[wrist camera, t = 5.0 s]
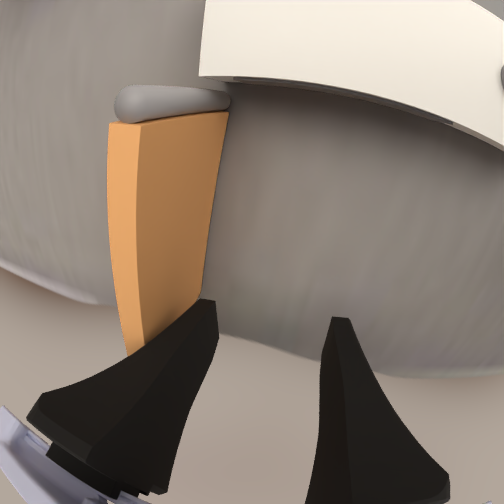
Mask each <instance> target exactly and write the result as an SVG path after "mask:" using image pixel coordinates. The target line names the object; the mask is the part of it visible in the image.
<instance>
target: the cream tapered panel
mask: <svg viewBox="0 0 504 504" xmlns="http://www.w3.org/2000/svg"><path fill="white" fill-rule="evenodd" d="M199 76H200V77H205V78H209V79H214V80H218V81H222V82H241V83H244V84H253V85H268V86H279V87H289V88H297V89H305V90H312V91H318V92H324V93H330V94H336V95H341V96H346V97H351V98H355V99H360V100H364V101H368V102H372V103H376V104H380V105H384V106H388V107H391V108H395V109H398V110H401V111H405V112H408V113H411V114H414V115H417V116H420V117H423V118H426V119H429V120H432V121H437V122H441V123H444V124H446V125H449V126H451V127H454V128H456V129H458V130H461V131H463V132H465V133H468V134H470V135H472V136H474V137H476V138H478V139H480V140H483V141H485V142H487V143H489V144H491V145H493V146H494V147H496V148H498V149H500V150H502V151H504V21H503V20H501V19H500V18H498V17H497V16H495V15H494V14H492V13H491V12H489V11H487V10H486V9H484V8H483V7H481V6H479V5H477V4H476V3H474V2H472V1H471V0H206V6H205V14H204V23H203V32H202V42H201V53H200V66H199Z"/></svg>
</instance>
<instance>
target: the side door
mask: <svg viewBox="0 0 504 504" xmlns="http://www.w3.org/2000/svg"><path fill="white" fill-rule="evenodd" d="M230 102H231V99H230V96H229V95H228V94H227V93H226V92H224V91H217V90H209V89H200V88H190V87H177V86H159V85H128V86H126V87H124V88H123V89H121V90H120V92H119V93H118V94H117V96H116V99H115V103H114V110H115V114H116V116H117V118H118V119H119V120H120V121H117V122H112V123H109V137H108V160H107V202H108V225H109V239H110V251H111V261H112V270H113V278H114V285H115V292H116V299H117V305H118V311H119V316H120V321H121V327H122V332H123V337H124V341H125V346H126V350H127V355H128V356H130V355H131V354H133V353H134V352H136V351H137V350H139V349H140V348H141V347H143V346H144V345H145V344H147V343H148V342H149V341H151V340H152V339H153V338H155V337H156V336H157V335H158V334H160V333H161V332H162V331H163V330H164V329H166V328H167V327H168V326H169V325H170V324H172V323H173V322H174V321H175V320H176V319H177V318H178V317H180V316H181V315H182V314H183V313H184V312H185V311H186V310H187V309H189V308H190V307H191V306H192V305H193V304H194V303H195V302H196V300H197V298H198V296H199V295H200V293H201V286H202V277H203V269H204V262H205V254H206V247H207V239H208V232H209V225H210V219H211V212H212V206H213V199H214V193H215V187H216V181H217V175H218V169H219V163H220V158H221V152H222V147H223V141H224V136H225V131H226V125H227V120H228V115H229V112H225V111H222V110H225V109H227V108H228V107H229V105H230Z"/></svg>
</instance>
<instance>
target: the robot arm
mask: <svg viewBox="0 0 504 504" xmlns="http://www.w3.org/2000/svg"><path fill="white" fill-rule="evenodd" d="M218 340H219V332H218V322H217V313H216V303H215V301H212V300H206V299H201V298H200V299H199V300H197V301H196V302H195V303H194V304H193V305H192V306H191V307H190V308H189V309H187V310H186V311H185V312H184V313H183V314H182V315H181V316H180V317H178V318H177V319H176V320H175V321H174V322H173V323H172V324H170V325H169V326H168V327H167V328H166V329H164V330H163V331H162V332H161V333H160V334H158V335H157V336H156V337H155V338H153V339H152V340H151V341H149V342H148V343H147V344H145V345H144V346H143V347H141V348H140V349H139V350H137V351H136V352H134V353H133V354H131V355H130V356H128V357H127V358H125V359H123V360H122V361H120V362H118V363H117V364H115V365H113V366H111V367H109V368H108V369H106V370H104V371H102V372H100V373H98V374H96V375H94V376H92V377H89V378H87V379H85V380H82V381H80V382H77V383H75V384H72V385H69V386H66V387H63V388H59V389H56V390H53V391H49V392H45V393H42V394H41V396H40V397H39V399H38V400H37V402H36V403H35V405H34V406H33V408H32V409H31V411H30V412H29V414H28V415H27V417H26V418H27V421H28V422H29V423H31V424H32V425H33V426H34V427H35V428H36V429H38V430H39V431H40V432H41V433H43V434H44V435H45V436H46V437H47V438H49V439H50V440H51V441H53V443H52V444H51V446H49V445H48V443H47V442H45V441H44V440H43V439H42V438H40V437H39V436H38V435H36V434H35V433H34V432H33V431H31V430H30V429H29V428H28V427H27V426H26V425H24V424H23V423H22V422H21V421H20V420H19V419H17V418H16V417H15V416H14V415H13V414H12V413H11V412H10V411H9V410H8V409H7V408H6V407H5V406H2V407H1V408H0V468H1V470H2V471H3V472H4V474H5V475H6V477H7V478H8V479H9V481H10V482H11V484H12V485H13V486H14V488H15V489H16V490H17V491H18V493H19V494H20V495H21V496H22V498H23V499H24V500H25V501H26V503H27V504H108V503H107V500H109V501H111V502H113V503H115V504H150V503H148V502H146V501H143V500H141V499H139V498H138V495H139V493H141V494H144V495H146V496H148V495H149V493H150V492H153V493H155V494H158V495H160V494H164V493H166V492H167V491H168V485H169V481H170V476H171V472H172V468H173V464H174V460H175V457H176V453H177V449H178V446H179V442H180V439H181V436H182V432H183V429H184V426H185V423H186V420H187V417H188V414H189V411H190V409H191V406H192V404H193V402H194V400H195V397H196V395H197V393H198V391H199V389H200V386H201V384H202V382H203V380H204V378H205V375H206V373H207V371H208V369H209V366H210V364H211V362H212V360H213V356H214V353H215V350H216V347H217V343H218ZM319 403H320V405H319V410H320V411H319V433H318V434H319V435H318V442H317V448H316V455H315V460H314V465H313V471H312V476H311V480H310V485H309V489H308V493H307V497H306V501H305V504H444V503H446V502H448V501H449V499H450V481H449V474H448V473H447V472H446V471H445V470H444V469H443V468H442V467H441V466H440V465H439V464H438V463H437V462H436V461H435V460H434V459H433V458H432V457H431V456H430V455H429V454H428V453H427V452H426V451H425V450H424V448H423V447H422V446H421V445H420V444H419V443H418V441H417V440H416V439H415V438H414V436H413V435H412V434H411V432H410V431H409V430H408V428H407V427H406V426H405V425H404V423H403V422H402V421H401V419H400V418H399V416H398V415H397V413H396V412H395V410H394V409H393V407H392V405H391V404H390V402H389V401H388V399H387V397H386V396H385V394H384V392H383V391H382V389H381V387H380V385H379V383H378V381H377V380H376V378H375V376H374V374H373V372H372V370H371V368H370V366H369V363H368V361H367V359H366V357H365V355H364V353H363V351H362V348H361V346H360V344H359V341H358V339H357V337H356V334H355V332H354V329H353V326H352V324H351V321H350V320H349V318H342V317H332V319H331V322H330V326H329V330H328V333H327V337H326V340H325V344H324V347H323V351H322V358H321V368H320V402H319ZM484 504H492V503H491V501H488V502H486V503H484Z"/></svg>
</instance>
